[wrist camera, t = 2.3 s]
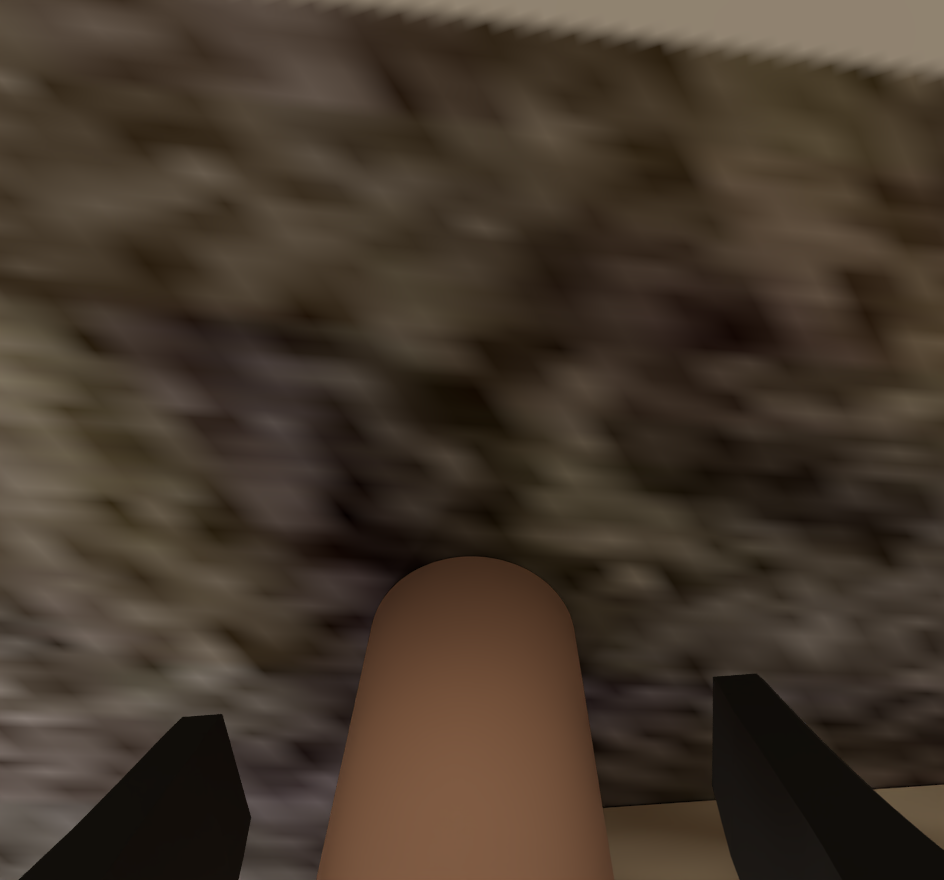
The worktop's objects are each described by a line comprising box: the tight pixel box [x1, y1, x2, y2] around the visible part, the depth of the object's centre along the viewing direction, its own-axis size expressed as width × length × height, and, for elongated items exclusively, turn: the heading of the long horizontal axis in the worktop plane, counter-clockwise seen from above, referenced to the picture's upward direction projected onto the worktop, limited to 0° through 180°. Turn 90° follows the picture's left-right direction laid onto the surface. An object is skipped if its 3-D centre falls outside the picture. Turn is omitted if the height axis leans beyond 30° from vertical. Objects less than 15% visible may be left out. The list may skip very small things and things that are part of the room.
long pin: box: [316, 556, 614, 880], centre depth 11 cm, size 4×4×7 cm
